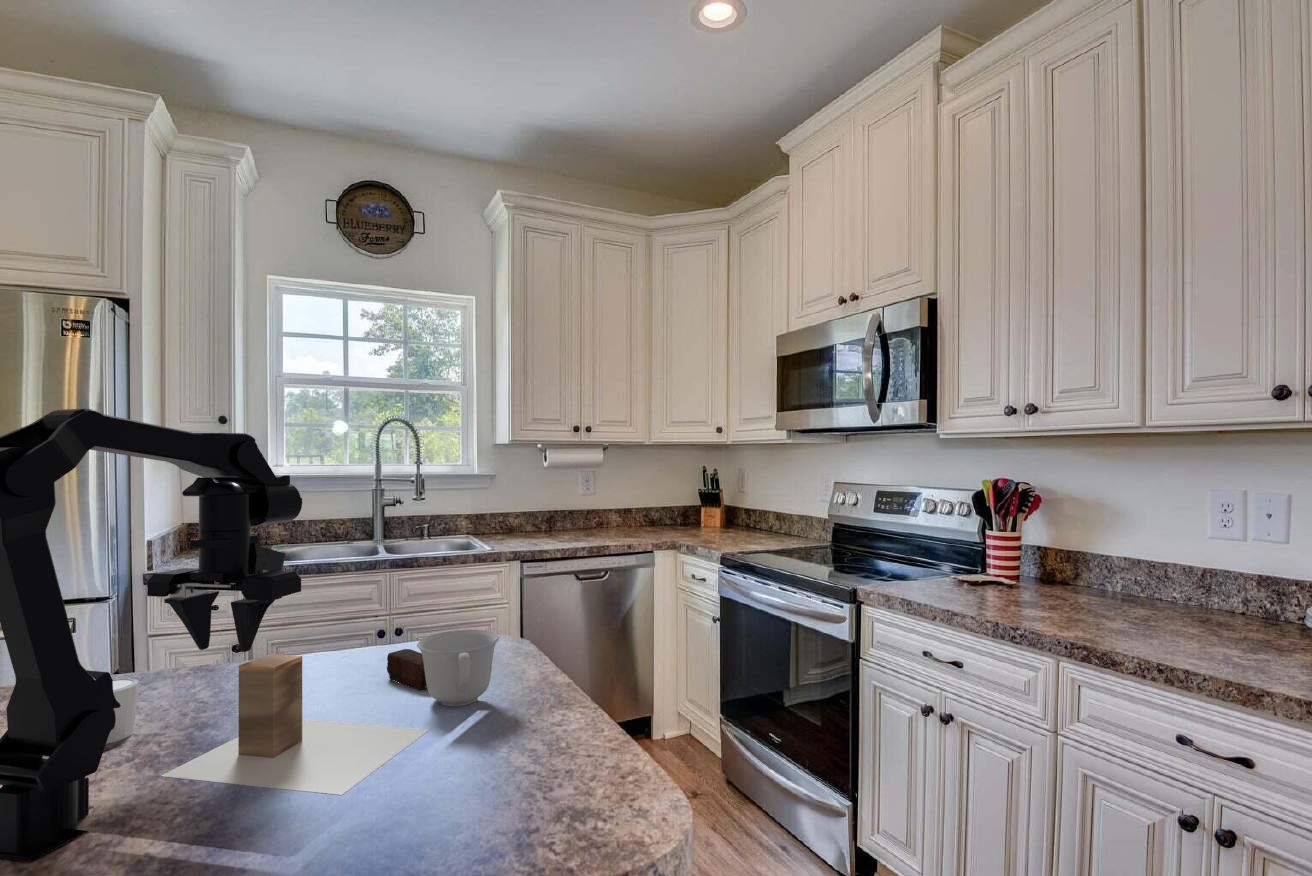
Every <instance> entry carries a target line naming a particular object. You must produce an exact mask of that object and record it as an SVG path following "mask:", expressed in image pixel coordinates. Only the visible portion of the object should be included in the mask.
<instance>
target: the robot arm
mask: <svg viewBox="0 0 1312 876" xmlns="http://www.w3.org/2000/svg"><path fill="white" fill-rule="evenodd" d="M88 451H98V452H102V453H103V452H104V453H110V454H115V455H116V454H117V455H122V456H128V457H135V458H141V459H146V460H153V461H154V460H155V461H158V462H159V461H160V462H166V463H168V464H172V465H174V466H176V467H178V468H179V469H180V470H182V471H184V472H187V473H190V474H194V475H196V476H198V477H197V478H195V480H194V482H193V483H192V484H190V485H189V486H187V487H186V488H185V489H184V490H183V491H182V493H181V494H182V496H183V497H198V538H195V539H190V549H198V568H197V567H195V568H194V567H193V568H191V567H183V568H176V569H172V570H167V571H166V570H165V571H161V572H154V573H153V574H152V575H151V577H150V578H149V579H148V580H147V583H146V584H147V585H146V586H147V591H146V593H147V595H146V596H147V597H162V598H164V597H167V596H169V597H168V598H165V599H163V602H164V603H165V604H168V605H170V608H171V609H172V610H173V611H174V612H175V614H176V615H177V616H178V618H179V619H180V621H181V622H182V624H183V625H184V627H185V628H186V630H187V632H188V633H189V636H190V637H191V638H192V640H193V642H194V643H195V645H196V647H197V648H198V650H200V651H202V650H203V651H204V650H206V649H208V648H209V647H210V641H211V628H212V627H211V624H212V609H213V608H212V606H213V604H214V603H215V601H216V599H217V598H218V595H219V594H220V591H222V592H224V591H227V592H228V591H230V592H231V591H232V592H241V595H242V596H243V598H241V599H238V600H234V601H230V606H231V607H230V608H231V611H232V616H233V620H234V621H233V622H234V627H235V633H236V637H237V642H238V645H239V649H240V651H241V653H246V652H249V651H250V650H251V649H252V647H253V644H254V641H255V639H256V635H257V634H258V631H259V628H260V626H261V623H262V621H263V618H264V616H265V614H266V612H267V610H268V609H269V607H270V606H271V605H272V604H273V603H274V602H275V601H277V600H280V599H282V598H283V597H285V596H290V595H293V594H296V593H301V592H302V577H301V575H300V574H299V573H298V572H297V570H283V567H284V563H285V559H286V555H287V553H286V552H282V551H278V550H275V549H272V548H269V547H268V548H267V547H263V546H261V545H260V544H261V543H260V541H261V540H260V537H259V535H258V534H252V533H251V532H252V531H251V528H252V527H251V526H253V527H254V526H262V525H264V526H265V525H271V524H281V523H289V522H291V521H293V520H295V519H296V518H297V517H298V516H299V514H301V511H302V507H303V498H302V497H301V493H300V492H299V489H298V488H297V487H296V485H293V484H291V476H290V475H289V474H288V475H287V474H285V475H283V474H281V475H279V474H278V475H276V474H275V473H274V472H273V469H272V468H271V466H270V465H269V463H268V462H267V460H266V458H265V457H264V455H263V453H262V452H261V450H260V448H259V446H258V444H257V443H256V438H255V437H254V436H252V435H250V434H248V433H243V432H236V433H235V432H191V431H187V430H186V431H185V430H181V429H176V428H172V427H167V426H163V425H159V424H158V425H157V424H152V423H147V422H143V421H138V420H132V419H129V418H123V417H119V416H114V415H109V414H105V413H101V412H99V411H97V410H94V409H92V408H66V409H56V410H52V411H50V412H49V413H47V414H45V415H43V416H41V417H40V418H38V419H36V420H35V421H34V422H32V423H30V424H27V425H25V426H22V427H19V428H18V429H14V430H13V431H11V432H8V433H5V434H3V435H1V436H0V627H1V631H2V634H3V638H4V642H5V645H6V648H7V651H8V656H9V659H10V663H11V666H12V669H13V672H14V676H15V685H14V687H13V689H12V692H11V694H10V698H9V700H8V703H7V706H6V723H7V730H6V731H5V732H4V734H3V735H2V736H1V737H0V786H1V787H0V859H5V860H11V861H19V862H32V861H34V860H37V859H39V858H40V857H43V856H44V855H46V854H48V853H50V852H51V851H54V850H55V849H58V848H59V847H61V846H63V845H65V844H68V843H69V842H71V841H72V840H75V839H77V838H78V837H80V836H82V835H83V834H86V833H88V832H89V830H85V829H76V826H77V825H78V823H79V821H81V820H83V819H85V818H86V817H87V816H88V815H89V813H90V811H89V810H90V809H89V808H90V806H89V805H90V778H89V777H88V776H90V775H93V774H95V773H96V772H97V771H98V768H99V765H100V762H101V759H102V757H103V753H104V751H105V748H106V745H107V744H106V742H107V739H108V736H109V734H110V732H111V730H113V729H114V727H115V723H116V715H115V710H114V708H119V707H120V706H121V705H120V703H119V702H118V701H117V700H116V698H115V696H114V693H113V680H114V679H113V678H112V675H111V673H110V672H108V671H98V670H97V671H96V670H87V669H86V668H85V667H84V666H83V665H82V664H81V661H80V660H79V655H78V651H77V649H76V644H75V641H74V637H73V634H72V628H71V626H70V622H69V618H68V614H67V611H66V606H65V602H64V598H63V596H62V595H63V594H62V590H61V587H60V583H59V580H58V577H57V572H56V569H55V565H54V561H53V557H52V553H51V549H50V545H49V542H48V537H47V528H48V525H49V523H50V521H51V518H52V514H53V512H54V509H55V508H56V507H55V506H56V503H57V502H56V501H57V500H56V484H55V482H57V481H58V480H60V479H61V478H62V477H64V476H66V475H67V474H69V473H70V472H72V471H73V470H74V469H76V467H77V466H78V465H79V463H80V462H81V461H82V460H83V458H84V457H85V456H86V454H87V453H88ZM43 757H44V758H43ZM45 757H48V758H45Z"/></svg>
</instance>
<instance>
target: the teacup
mask: <svg viewBox="0 0 1312 876" xmlns="http://www.w3.org/2000/svg"><path fill="white" fill-rule="evenodd" d="M499 640H500V635H498V634H497V633H496V632H493V631H490V630H483V629H459V630H449V631H443V632H438V633H433V634H430V635H428V636H424V637H423V638H421V639H420V640H419V641H418V642H417V643H416V647H417V649H418V650H420V653H422V657H423V662H424V670H425V678H426V684H427V688H428V689H427V690H428V691H427V692H428V693H429V695H430V697H432V699H434V700H435V701H438V702H440V704H441V705H443V706H445V707H446V706H448V707H459V706H460V707H461V706H466V705H469V704H473V703H474V702H479V699H478V698H480V697H481V696H482V695H483V694H485V692H486V691H487V690H488V688H489V686H490V682H491V675H492V670H493V660H494V652H495V647H496V645H497V643H498V641H499Z"/></svg>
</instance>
